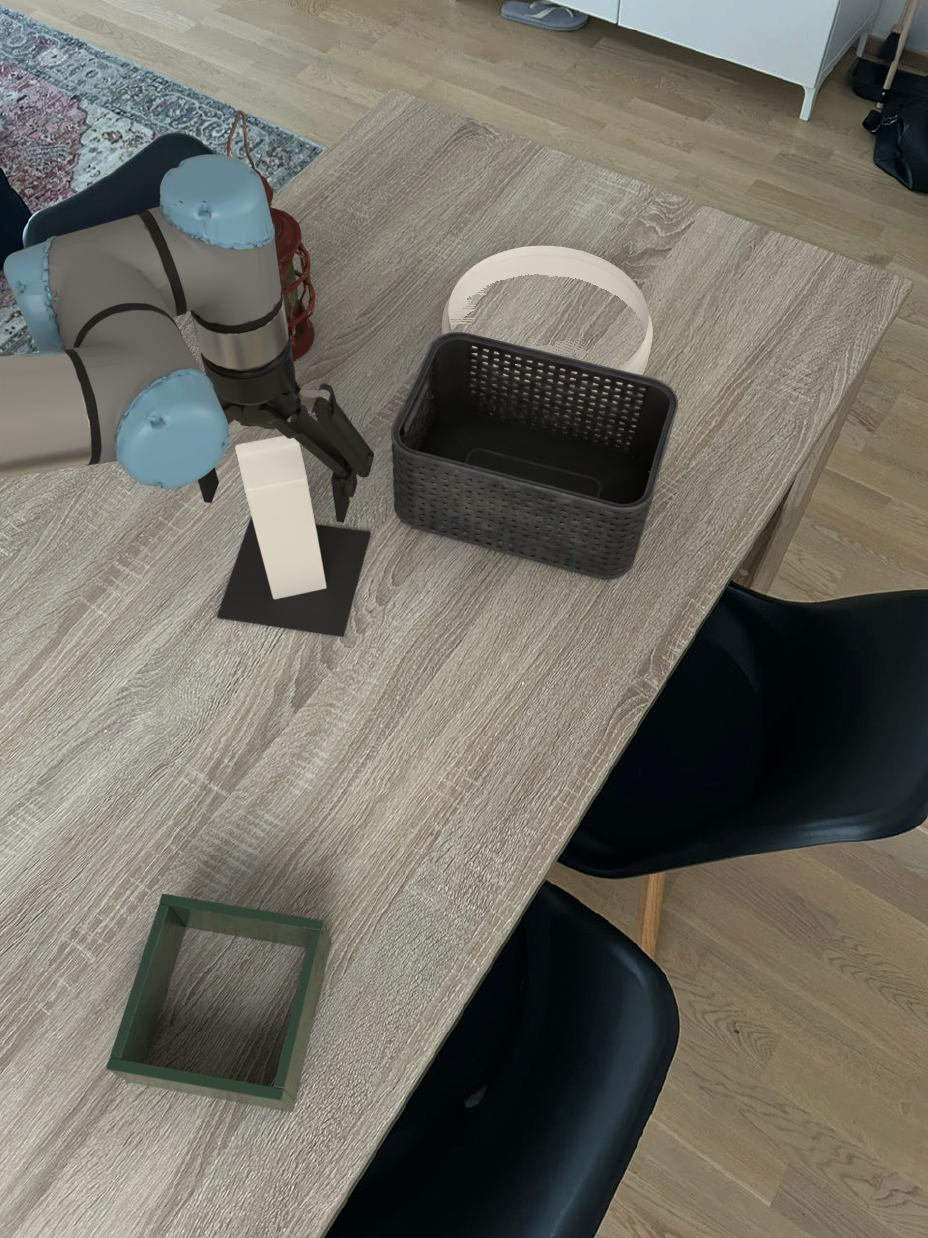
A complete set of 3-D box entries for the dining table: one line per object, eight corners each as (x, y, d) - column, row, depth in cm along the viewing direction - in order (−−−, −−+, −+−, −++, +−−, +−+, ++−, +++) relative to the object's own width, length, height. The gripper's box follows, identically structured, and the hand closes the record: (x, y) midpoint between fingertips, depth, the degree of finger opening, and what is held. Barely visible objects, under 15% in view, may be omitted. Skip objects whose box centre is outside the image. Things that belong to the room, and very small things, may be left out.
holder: (128, 1082, 88) (105, 1069, 82) (179, 916, 96) (162, 893, 90) (292, 1112, 87) (281, 1101, 81) (331, 942, 95) (323, 920, 89)
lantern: (238, 302, 139) (190, 86, 114) (328, 308, 139) (300, 93, 113) (218, 367, 133) (163, 153, 107) (312, 374, 132) (279, 162, 107)
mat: (217, 618, 113) (216, 616, 113) (252, 517, 120) (251, 514, 120) (343, 637, 112) (343, 635, 112) (370, 533, 119) (370, 531, 119)
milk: (327, 589, 115) (304, 457, 96) (272, 600, 114) (239, 470, 95) (316, 545, 118) (293, 410, 99) (263, 556, 117) (229, 421, 98)
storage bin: (663, 462, 125) (685, 382, 114) (627, 589, 116) (647, 515, 104) (438, 407, 130) (437, 324, 118) (385, 524, 120) (379, 446, 109)
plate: (423, 404, 130) (422, 372, 125) (461, 263, 144) (462, 229, 139) (638, 435, 128) (646, 403, 123) (656, 288, 142) (663, 255, 137)
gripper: (400, 330, 88) (405, 490, 106) (115, 292, 90) (169, 456, 108) (382, 394, 84) (391, 549, 102) (85, 353, 86) (145, 513, 104)
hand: (277, 502), depth 105 cm, fingers open, 13 cm apart
